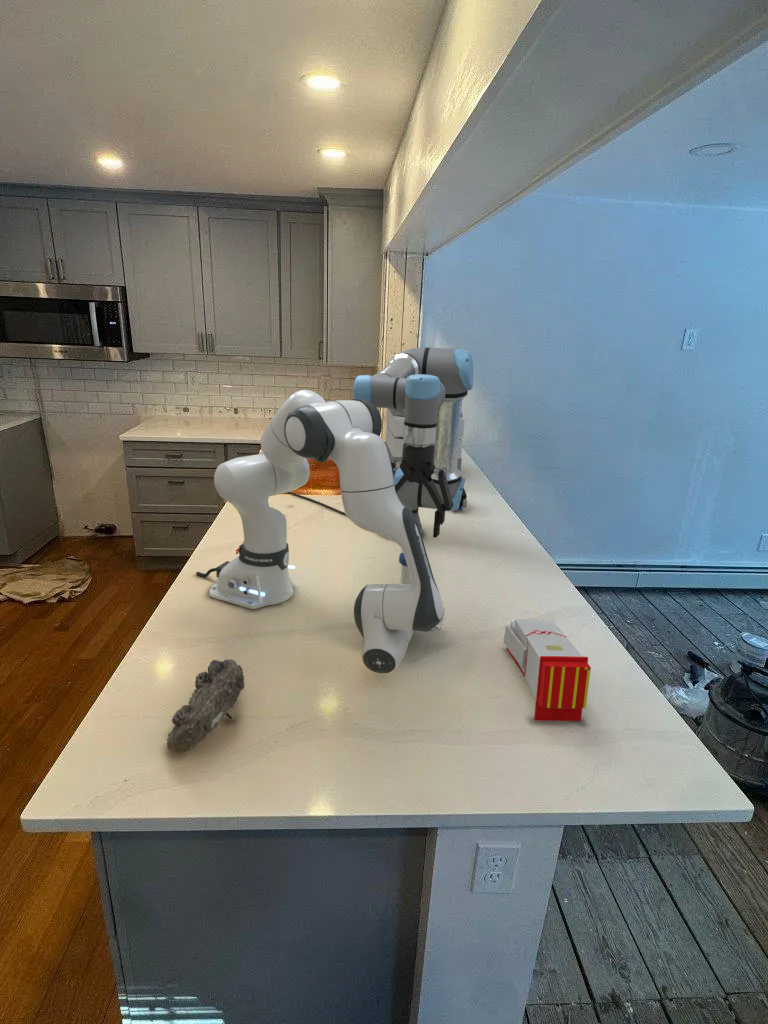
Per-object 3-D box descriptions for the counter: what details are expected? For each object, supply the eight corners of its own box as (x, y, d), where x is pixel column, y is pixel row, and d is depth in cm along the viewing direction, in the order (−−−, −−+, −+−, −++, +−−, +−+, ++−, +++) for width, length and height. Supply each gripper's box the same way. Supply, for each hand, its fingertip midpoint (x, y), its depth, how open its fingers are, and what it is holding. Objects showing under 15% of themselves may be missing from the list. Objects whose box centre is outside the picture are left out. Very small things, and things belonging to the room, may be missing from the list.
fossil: (192, 660, 117) (244, 628, 112) (224, 691, 120) (276, 661, 115) (142, 746, 98) (202, 712, 93) (182, 779, 101) (242, 748, 96)
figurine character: (467, 516, 223) (461, 500, 237) (469, 499, 220) (463, 483, 233) (450, 516, 223) (446, 499, 236) (452, 498, 220) (447, 483, 233)
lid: (427, 559, 143) (427, 553, 143) (419, 569, 138) (419, 563, 137) (403, 555, 145) (404, 549, 145) (395, 564, 140) (395, 558, 139)
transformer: (382, 463, 289) (386, 382, 275) (445, 464, 293) (451, 384, 279) (390, 482, 257) (394, 392, 243) (460, 483, 261) (468, 394, 247)
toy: (549, 604, 136) (599, 663, 106) (544, 656, 138) (591, 727, 109) (499, 603, 135) (535, 662, 106) (495, 655, 138) (529, 726, 109)
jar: (420, 613, 148) (424, 555, 142) (413, 623, 144) (417, 563, 138) (402, 609, 150) (405, 552, 144) (395, 618, 145) (398, 559, 140)
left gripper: (441, 619, 128) (449, 591, 140) (354, 605, 132) (370, 579, 145) (439, 643, 130) (447, 614, 142) (353, 628, 134) (369, 601, 147)
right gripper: (472, 447, 130) (464, 535, 138) (379, 434, 139) (375, 518, 146) (463, 453, 124) (455, 545, 131) (366, 440, 132) (363, 527, 140)
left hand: (408, 596), depth 144 cm, fingers open, 8 cm apart
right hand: (413, 531), depth 139 cm, fingers open, 11 cm apart
